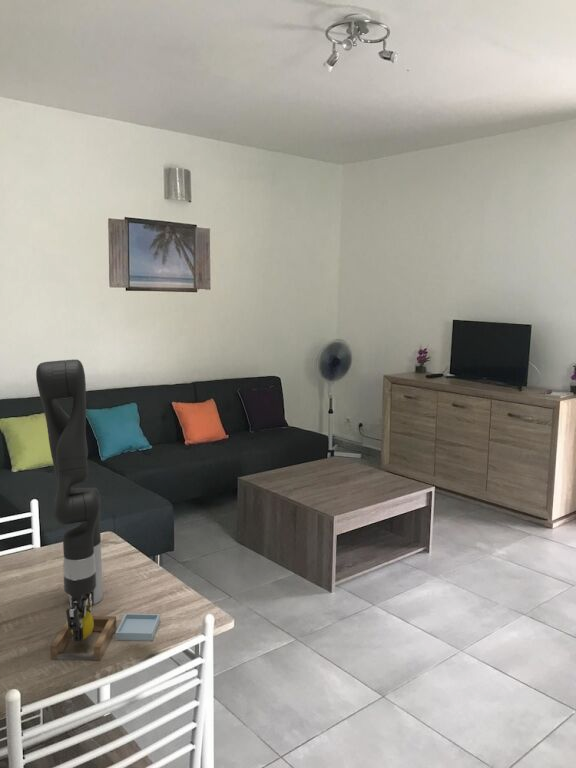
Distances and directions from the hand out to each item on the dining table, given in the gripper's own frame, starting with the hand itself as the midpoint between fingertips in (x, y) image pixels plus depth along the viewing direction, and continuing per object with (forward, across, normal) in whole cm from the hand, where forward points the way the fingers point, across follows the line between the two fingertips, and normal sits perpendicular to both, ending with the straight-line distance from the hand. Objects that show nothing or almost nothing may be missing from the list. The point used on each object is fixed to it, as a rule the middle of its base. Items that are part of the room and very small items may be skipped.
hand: (82, 633), depth 158 cm
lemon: (+2, 0, 0) cm, 2 cm away
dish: (+4, -8, +12) cm, 15 cm away
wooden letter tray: (+4, -2, 0) cm, 4 cm away
